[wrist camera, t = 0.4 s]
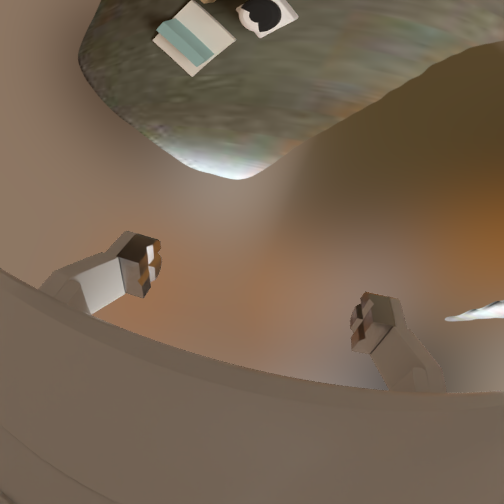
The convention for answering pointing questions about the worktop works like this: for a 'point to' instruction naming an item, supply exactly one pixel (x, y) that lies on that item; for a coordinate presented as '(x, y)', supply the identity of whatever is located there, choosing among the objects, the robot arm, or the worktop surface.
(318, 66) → the worktop surface
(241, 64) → the worktop surface
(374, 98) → the worktop surface
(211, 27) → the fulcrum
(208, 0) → the batten
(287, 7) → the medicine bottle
